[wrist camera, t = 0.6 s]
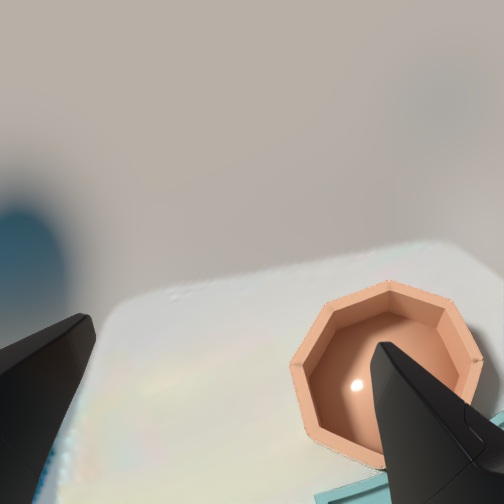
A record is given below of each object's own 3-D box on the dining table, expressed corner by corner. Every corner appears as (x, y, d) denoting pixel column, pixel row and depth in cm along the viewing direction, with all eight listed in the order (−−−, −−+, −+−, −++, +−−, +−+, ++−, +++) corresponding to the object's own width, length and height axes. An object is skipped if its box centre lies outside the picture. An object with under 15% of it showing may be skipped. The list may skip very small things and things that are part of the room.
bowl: (483, 417, 14) (504, 405, 11) (325, 486, 15) (320, 489, 13) (422, 290, 22) (429, 263, 20) (287, 340, 23) (277, 319, 21)
